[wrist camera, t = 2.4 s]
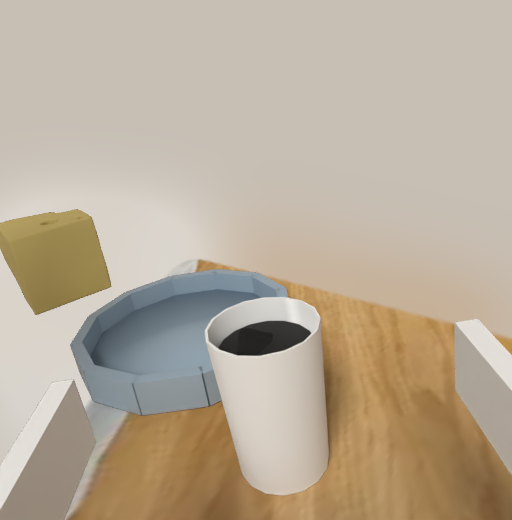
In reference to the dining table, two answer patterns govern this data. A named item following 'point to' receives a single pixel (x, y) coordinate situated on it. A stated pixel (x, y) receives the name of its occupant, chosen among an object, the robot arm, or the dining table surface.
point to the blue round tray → (161, 341)
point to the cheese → (54, 258)
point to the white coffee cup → (273, 390)
